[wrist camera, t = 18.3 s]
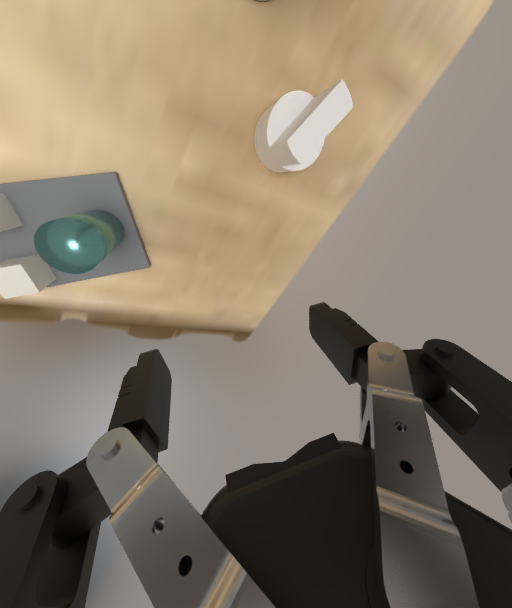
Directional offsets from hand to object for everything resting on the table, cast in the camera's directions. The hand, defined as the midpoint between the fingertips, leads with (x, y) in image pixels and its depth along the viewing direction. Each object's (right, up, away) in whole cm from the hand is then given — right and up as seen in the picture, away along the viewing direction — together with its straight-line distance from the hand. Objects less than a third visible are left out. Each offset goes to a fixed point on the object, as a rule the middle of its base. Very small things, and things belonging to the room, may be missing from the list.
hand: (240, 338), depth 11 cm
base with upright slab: (+5, +29, +24) cm, 38 cm away
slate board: (-27, +13, +22) cm, 37 cm away
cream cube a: (-32, +7, +21) cm, 39 cm away
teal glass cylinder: (-22, +13, +21) cm, 33 cm away
